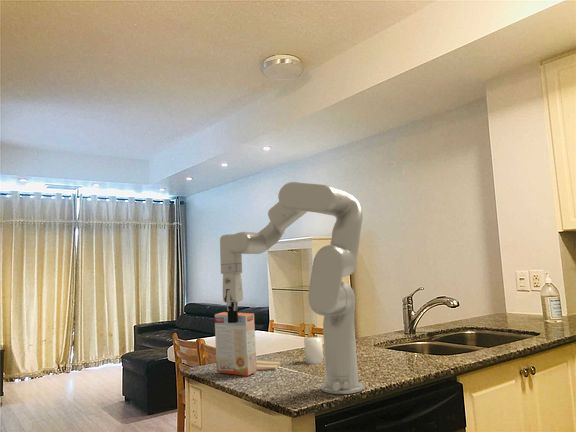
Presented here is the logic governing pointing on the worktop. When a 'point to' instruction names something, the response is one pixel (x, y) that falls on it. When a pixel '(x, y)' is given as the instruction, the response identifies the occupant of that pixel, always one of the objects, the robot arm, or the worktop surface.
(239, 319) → the cracker box
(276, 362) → the cork board
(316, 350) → the white rounded block
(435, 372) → the worktop surface
